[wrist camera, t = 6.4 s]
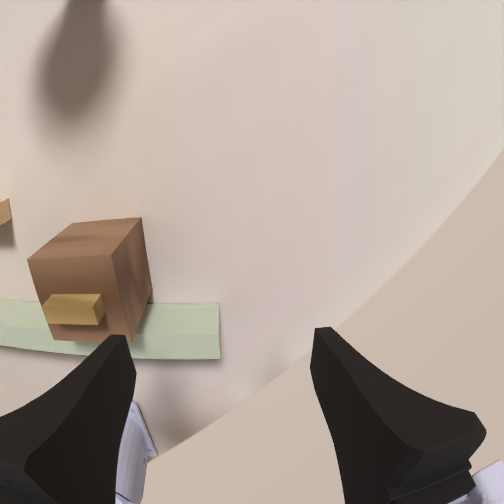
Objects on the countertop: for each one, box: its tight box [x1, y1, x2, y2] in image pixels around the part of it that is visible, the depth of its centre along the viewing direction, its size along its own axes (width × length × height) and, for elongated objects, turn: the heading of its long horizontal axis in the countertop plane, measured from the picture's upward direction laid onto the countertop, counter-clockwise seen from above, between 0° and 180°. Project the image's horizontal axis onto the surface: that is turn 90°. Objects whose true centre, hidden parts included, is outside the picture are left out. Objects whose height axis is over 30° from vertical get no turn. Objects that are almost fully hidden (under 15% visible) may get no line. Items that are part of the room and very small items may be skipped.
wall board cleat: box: [0, 199, 220, 359], centre depth 18 cm, size 10×26×4 cm, turn 90°
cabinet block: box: [27, 217, 152, 343], centre depth 16 cm, size 5×5×7 cm
